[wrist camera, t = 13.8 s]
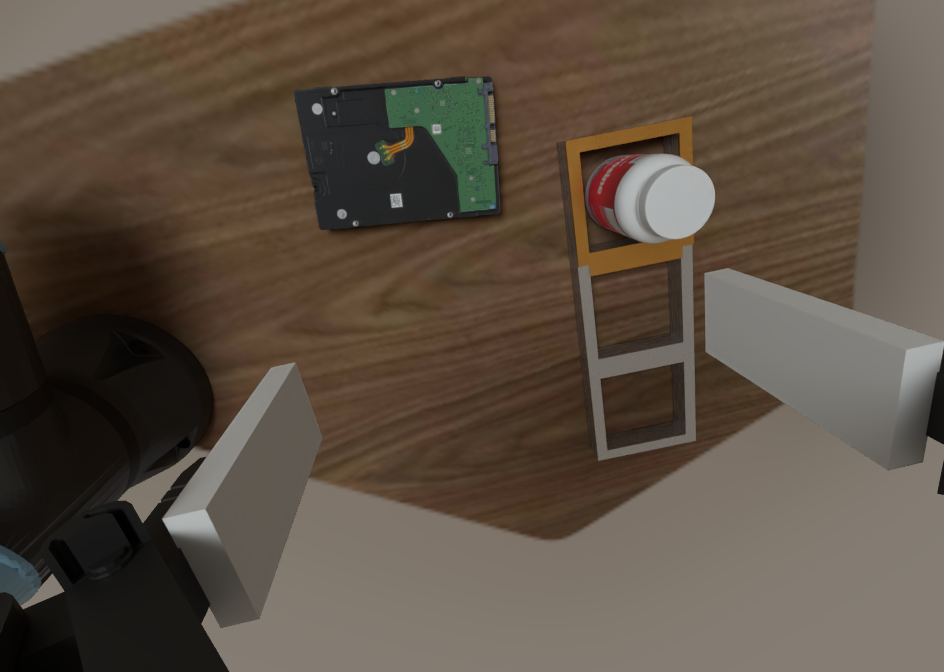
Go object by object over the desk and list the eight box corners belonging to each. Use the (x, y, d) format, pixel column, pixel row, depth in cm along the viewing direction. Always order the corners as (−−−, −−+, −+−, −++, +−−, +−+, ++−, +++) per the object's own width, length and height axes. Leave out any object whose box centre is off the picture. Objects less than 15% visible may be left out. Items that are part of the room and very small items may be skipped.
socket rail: (590, 446, 50) (599, 462, 47) (556, 142, 39) (565, 141, 36) (683, 427, 50) (697, 442, 47) (674, 119, 39) (691, 116, 37)
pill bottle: (631, 139, 40) (703, 131, 29) (664, 201, 42) (741, 214, 31) (569, 184, 40) (617, 191, 30) (603, 243, 42) (660, 269, 32)
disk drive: (327, 228, 41) (498, 211, 41) (319, 233, 38) (502, 214, 38) (300, 94, 37) (489, 76, 37) (290, 89, 34) (493, 70, 35)
